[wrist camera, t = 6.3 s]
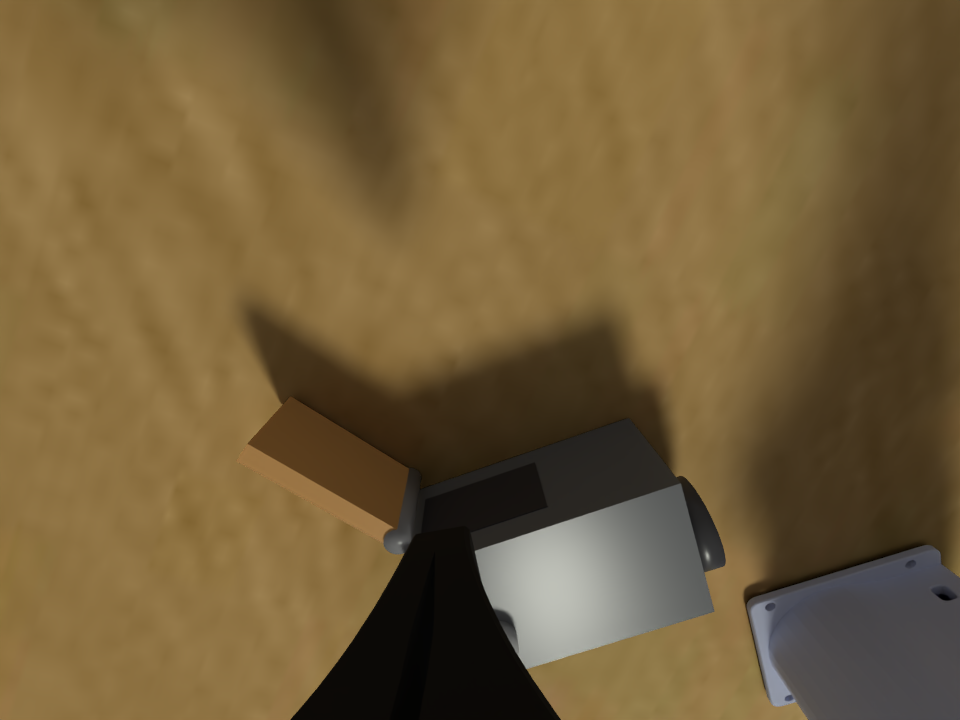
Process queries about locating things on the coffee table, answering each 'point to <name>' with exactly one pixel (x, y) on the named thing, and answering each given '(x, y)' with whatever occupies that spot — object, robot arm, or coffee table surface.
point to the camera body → (582, 541)
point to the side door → (337, 473)
